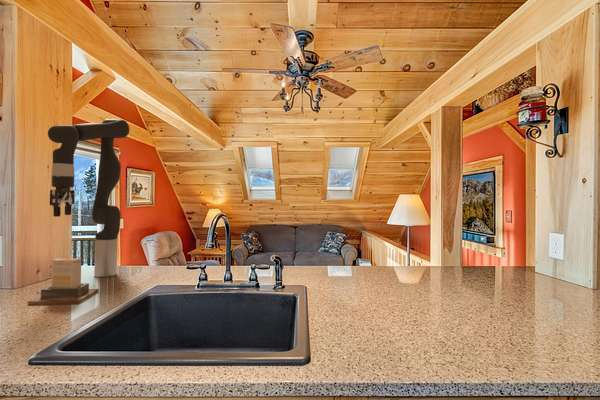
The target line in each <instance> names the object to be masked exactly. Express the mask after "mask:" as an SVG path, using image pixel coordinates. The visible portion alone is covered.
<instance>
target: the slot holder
mask: <svg viewBox="0 0 600 400" xmlns="http://www.w3.org/2000/svg"><path fill="white" fill-rule="evenodd" d="M89 285H90V283H86V282H85V283H82V282H81V286H80V287H78V288H76V289H52V284H50V285H48V286H46V287H43V288H42V289H40V295H38V296H36V297H34V298H32V299H30V300H28V301H27V305H28V306H30V305H32V306H33V305H35V306H37V305H41V306H43V305H44V306H45V305H80V304H81V303H83V302H84V301H86V300H88V299H90V298H91V297H92V296H94V295H96V294H97V293H99V288H90V286H89Z"/></svg>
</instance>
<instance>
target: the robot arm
mask: <svg viewBox="0 0 600 400" xmlns="http://www.w3.org/2000/svg"><path fill="white" fill-rule="evenodd" d="M129 134H130V126H129V123H128V122H127V121H126V120H125V119H121V118H106V119H104V120H103V121H102V122H101V123H100V122H99V123H96V122H95V123H89V122H88V123H78V124H71V125H68V124H63V125H62V124H61V125H60V124H59V125H52V126H51V127H49V129H48V131H47V137H48V139H49V140H50V141H51V142H53V143H56V144H61V145H60V147H59V148H55V149H53V150H52V166H51V187H53V188H55V189H50V192H49V206H52V208H53V210H52V211H53V217H55V218H56V217H59V218H60V217H61V215H62V214H61V211H62V209H61V205H62V203H63V204H64V215H65V216H71V215H72V206H74V205H75V203H76V202H75V189H71V188H74V187H75V167H74V163H75V162H74V159H75V152H76V151H77V150H76V149H77V146H78V143H79V142H82V141H83V142H84V141H90V140H96V139H100V153H99V154H100V155H99V164H98V174H97V182H96V183H97V184H96V191H95V197H94V200H93V205H92V206H93V207H92V211H91V212H92V213H91V219H92V221H93V222H94V224H96V225H103V228H102V230H100V231H99V232H96V233H95V240H94V271H93V272H94V274H93V275H94V277H98V278H106V277H107V278H108V277H113V276H115V275H117V269H118V236H119V234H120V233H119V232H120V227H121V216H122V215H121V210H120V208H119V207H118V206H117V205H111V204H110V205H109V200H110V196H111V194H112V192H113V191H114V189H115V187H116V186H117V185H118V183H119V181H120V177H121V168H122V167H121V165H122V164H121V162H120V160H119V158H118V156H117V154H116V152H115V148H114V141H115V139H124V138H126V137H127V136H128V135H129Z"/></svg>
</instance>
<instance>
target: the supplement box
mask: <svg viewBox="0 0 600 400" xmlns="http://www.w3.org/2000/svg"><path fill="white" fill-rule="evenodd" d="M81 283H82V258H80V257H79V258H75V257H70V258H69V257H58V258H54V259H52V260H51V285H52V289H76V288H78V287H80V286H81Z"/></svg>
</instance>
